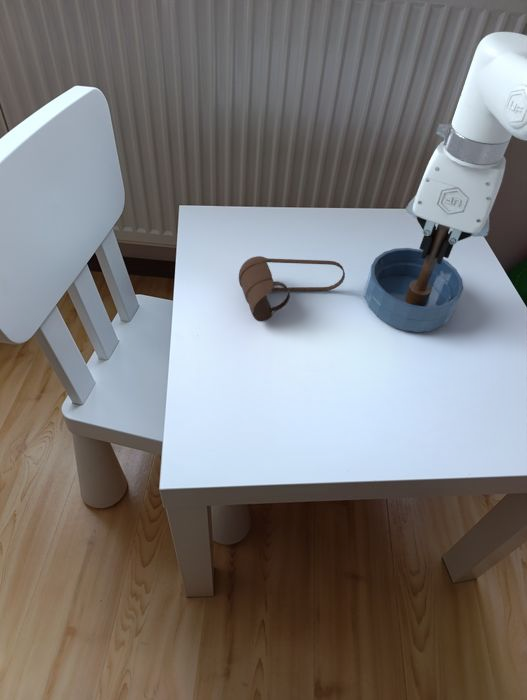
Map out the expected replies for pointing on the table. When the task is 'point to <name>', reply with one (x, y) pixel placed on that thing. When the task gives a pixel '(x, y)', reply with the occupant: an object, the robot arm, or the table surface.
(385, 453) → the table surface
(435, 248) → the stirring stick
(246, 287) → the brown barrel bag
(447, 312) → the bowl
